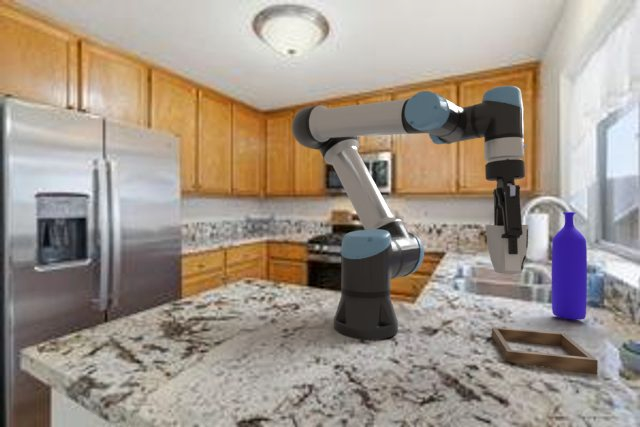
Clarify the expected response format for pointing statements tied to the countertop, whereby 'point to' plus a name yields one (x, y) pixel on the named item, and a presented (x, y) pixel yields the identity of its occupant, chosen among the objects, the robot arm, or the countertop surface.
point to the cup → (497, 247)
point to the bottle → (569, 272)
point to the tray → (576, 362)
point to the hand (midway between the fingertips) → (508, 267)
